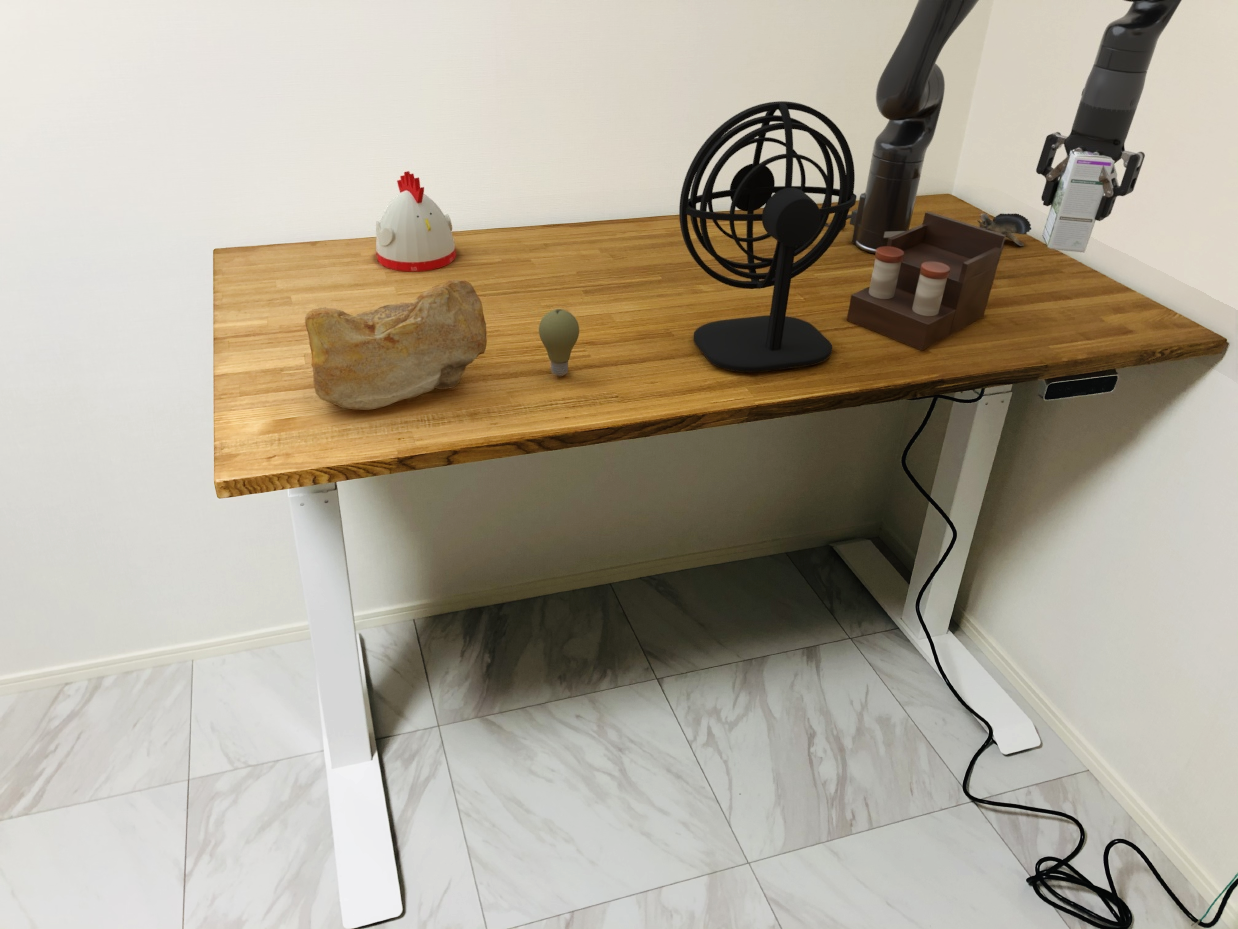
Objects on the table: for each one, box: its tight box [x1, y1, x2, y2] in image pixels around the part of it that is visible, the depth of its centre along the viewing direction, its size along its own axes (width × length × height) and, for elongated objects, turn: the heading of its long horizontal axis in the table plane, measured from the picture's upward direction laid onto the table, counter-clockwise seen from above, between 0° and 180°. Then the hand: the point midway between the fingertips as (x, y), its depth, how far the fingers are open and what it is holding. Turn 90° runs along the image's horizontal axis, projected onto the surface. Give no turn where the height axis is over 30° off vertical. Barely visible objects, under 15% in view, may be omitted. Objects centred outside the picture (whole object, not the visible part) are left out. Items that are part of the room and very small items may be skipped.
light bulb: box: [538, 308, 580, 378], centre depth 130 cm, size 6×6×10 cm
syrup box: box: [1041, 150, 1115, 253], centre depth 141 cm, size 6×6×14 cm
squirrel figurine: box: [977, 213, 1032, 247], centre depth 180 cm, size 8×7×9 cm
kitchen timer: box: [375, 170, 457, 272], centre depth 163 cm, size 14×14×15 cm
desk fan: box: [678, 100, 857, 373], centre depth 132 cm, size 27×18×35 cm, turn 107°
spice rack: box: [846, 211, 1007, 351], centre depth 148 cm, size 19×14×14 cm
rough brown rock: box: [304, 279, 488, 411], centre depth 126 cm, size 23×17×15 cm
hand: (1073, 211), depth 142 cm, fingers closed on syrup box, 7 cm apart
